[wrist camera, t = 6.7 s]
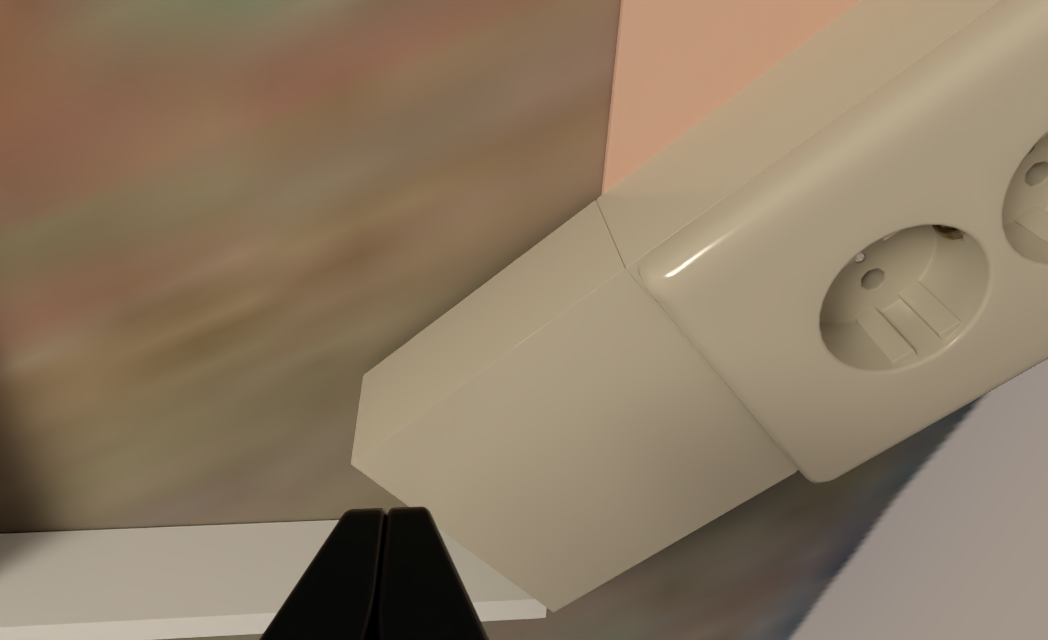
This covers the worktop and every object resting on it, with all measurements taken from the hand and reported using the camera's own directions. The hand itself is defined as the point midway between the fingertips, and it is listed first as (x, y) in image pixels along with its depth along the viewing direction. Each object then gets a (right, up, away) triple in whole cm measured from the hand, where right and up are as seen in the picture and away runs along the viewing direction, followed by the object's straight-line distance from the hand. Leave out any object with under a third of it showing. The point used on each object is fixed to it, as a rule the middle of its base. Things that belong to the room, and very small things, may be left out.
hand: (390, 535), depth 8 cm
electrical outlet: (+7, +4, +10) cm, 13 cm away
